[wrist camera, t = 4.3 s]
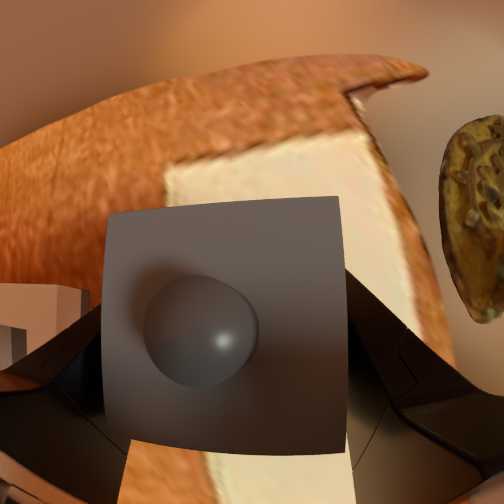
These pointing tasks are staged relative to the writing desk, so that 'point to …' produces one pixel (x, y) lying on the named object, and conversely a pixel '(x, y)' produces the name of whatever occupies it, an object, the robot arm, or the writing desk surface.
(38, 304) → the socket
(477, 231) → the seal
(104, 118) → the writing desk surface
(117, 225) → the grey block with knob
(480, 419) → the robot arm
